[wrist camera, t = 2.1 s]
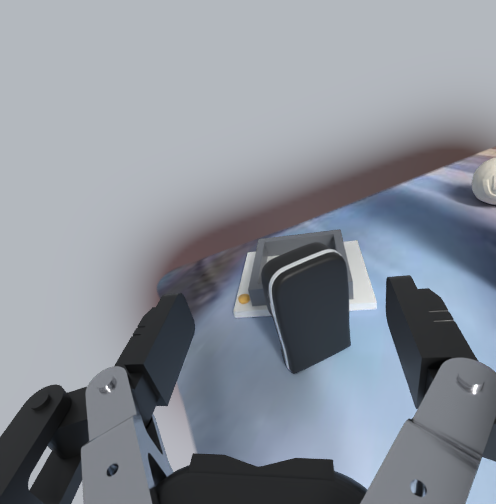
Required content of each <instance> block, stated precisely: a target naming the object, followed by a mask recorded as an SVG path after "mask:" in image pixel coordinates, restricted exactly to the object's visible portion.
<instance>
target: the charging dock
mask: <svg viewBox="0 0 496 504" xmlns="http://www.w3.org/2000/svg"><path fill="white" fill-rule="evenodd" d="M313 242H320V243H322V244H324V245H326V246H328V247H329V248H331V249H333V250H336V251H337V252H338V253H340V254H341V255H342V257H343V259H344V260H345V262H346V266H347V273H348V285H349V311H357V310H373V309H377V302H376V298H375V295H374V292H373V289H372V286H371V282H370V279H369V276H368V273H367V270H366V267H365V263H364V260H363V257H362V254H361V251H360V247H359V244H358V241H357V240H356V241H347V242H343V238H342V234H341V230H332V231H323V232H315V233H307V234H298V235H290V236H282V237H273V238H265V239H258V244H257V249H256V252H248V254H247V258H246V262H245V266H244V270H243V274H242V278H241V282H240V286H239V290H238V294H237V298H236V302H235V306H234V310H233V313H234V316H235V318H245V317H261V316H271V314H270V313H269V311H268V309H267V305H266V301H265V296H264V292H263V287H262V280H261V273H262V268H263V267H264V265H265V264H266V263H267V262H268V261H269V260H271V259H273V258H275V257H277V256H280V255H282V254H284V253H286V252H289V251H291V250H294V249H296V248H299V247H301V246H304V245H307V244H310V243H313Z"/></svg>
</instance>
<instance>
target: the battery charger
mask: <svg viewBox="0 0 496 504" xmlns="http://www.w3.org/2000/svg"><path fill="white" fill-rule="evenodd" d="M261 280H262V287H263V292H264V296H265V301H266V305H267V309H268V311H269V313H270V314H271V316H272V317H273V320H274V323H275V326H276V330H277V333H278V336H279V339H280V343H281V351H282V355H283V358H284V361H285V363H286V366H287V368H288V369H289V370H290V371H291V372H292V373H293V374H295V373H298V372H300V371H302V370H304V369H306V368H308V367H310V366H312V365H314V364H316V363H318V362H321V361H323V360H324V359H326V358H328V357H330V356H332V355H334V354H336V353H338V352H340V351H342V350H344V349H345V348H347V347H349V346H350V345H351V341H350V329H349V285H348V273H347V266H346V262H345V260H344V259H343V257H342V255H341V254H340V253H338V252H337V251H336V250H333V249H331V248H329V247H328V246H326V245H324V244H322V243H320V242H313V243H310V244H307V245H304V246H301V247H299V248H296V249H294V250H291V251H289V252H286V253H284V254H282V255H280V256H277V257H275V258H273V259H271V260H269V261H268V262H267V263H266V264H265V265H264V267H263V268H262V273H261Z"/></svg>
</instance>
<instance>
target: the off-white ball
mask: <svg viewBox="0 0 496 504" xmlns="http://www.w3.org/2000/svg"><path fill="white" fill-rule="evenodd" d="M472 190H473V192H474V194H475V196H476V197H477V198H478V199H479V200H481V201H483V202H485V203H489V204H495V205H496V158H493V159H490V160H488V161H486V162H484V163H483V164H482V165H480V166H479V167H478V168H477V169H476V171H475V173H474V175H473V178H472Z"/></svg>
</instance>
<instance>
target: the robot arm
mask: <svg viewBox="0 0 496 504" xmlns="http://www.w3.org/2000/svg"><path fill="white" fill-rule="evenodd" d="M386 317H387V322H388V326H389V329H390V332H391V335H392V338H393V341H394V344H395V347H396V350H397V353H398V356H399V359H400V362H401V365H402V368H403V371H404V374H405V377H406V380H407V383H408V386H409V389H410V392H411V395H412V398H413V401H414V404H415V407H416V409H418V410H417V412H416V414H415V415H414V417H413V418H412V419H408V420H407V421H406V422H405V423H404V425H403V427H402V428H401V430H400V432H399V434H398V436H397V437H396V439H395V441H394V443H393V445H392V447H391V448H390V450H389V452H388V454H387V456H386V458H385V459H384V461H383V463H382V465H381V467H380V468H379V470H378V472H377V474H376V476H375V478H374V479H373V481H372V483H371V485H370V487H369V489H368V490H367V489H366V488H365V487H363V486H362V485H361V484H359V483H358V482H356V481H355V480H353V479H351V478H349V477H347V476H345V475H343V474H341V473H338V472H335V471H334V465H333V460H330V459H307V458H294V459H290V460H286V461H281V462H277V463H273V464H269V465H265V466H261V467H257V466H253V465H251V464H248V463H245V462H243V461H240V460H237V459H234V458H232V457H229V456H226V455H215V454H193V455H192V459H191V463H190V465H189V466H186V467H184V468H181V469H179V470H177V471H175V472H173V470H172V468H171V466H170V464H169V461H168V459H167V455H166V452H165V449H164V446H163V442H162V439H161V436H160V432H159V429H158V426H157V422H156V419H155V417H154V415H153V412H154V409H155V407H156V406H168V403H169V400H170V398H171V395H172V392H173V390H174V387H175V384H176V381H177V379H178V376H179V373H180V371H181V368H182V365H183V362H184V360H185V357H186V354H187V352H188V349H189V346H190V344H191V341H192V338H193V335H194V331H195V323H194V319H193V317H192V314H191V312H190V309H189V307H188V304H187V302H186V299H185V297H184V295H183V294H182V293H178V294H166V295H163V296H162V297H161V299H160V301H159V303H158V305H157V306H156V307H154V308H152V309H151V310H150V311H149V312H148V313H147V314H145V315H144V317H143V318H142V320H141V321H140V323H139V325H138V328H137V329H136V330H135V332H134V333H133V337H131V338H130V340H129V342H128V344H127V345H126V347H125V349H124V350H123V352H122V354H121V355H120V357H119V359H118V361H117V363H116V364H115V366H114V367H110V368H107V369H105V370H103V371H102V372H100V373H99V374H97V375H96V376H95V377H94V378H93V379H92V380H91V382H90V383H89V385H88V387H84V388H81V389H78V390H75V391H72V392H69V393H66V392H65V391H64V389H63V388H62V387H61V386H60V385H50V386H47V387H45V388H43V389H41V390H39V391H38V392H36V393H35V394H34V395H33V396H31V397H30V398H29V399H28V400H27V401H26V403H25V404H24V405H23V407H22V408H21V410H20V411H19V412H18V413H17V415H16V416H15V418H14V419H13V420H12V422H11V423H10V425H9V426H8V427H7V429H6V430H5V431H4V433H3V434H2V435H1V437H0V504H71V503H72V500H73V499H74V496H75V494H76V492H77V490H78V488H79V485H80V483H81V481H83V499H84V504H466V501H467V498H468V495H469V493H470V490H471V487H472V484H473V481H474V478H475V475H476V473H477V470H478V467H479V464H480V461H481V458H482V457H484V458H487V459H490V460H493V461H496V372H495V371H493V370H492V369H491V368H490V367H488V366H486V365H485V364H483V363H481V362H479V361H478V360H477V358H476V357H475V355H474V353H473V352H472V350H471V348H470V347H469V345H468V343H467V341H466V340H465V338H464V336H463V335H462V333H461V331H460V329H459V328H458V326H457V324H456V323H455V322H454V320H453V317H452V316H451V314H450V312H448V309H447V307H446V305H445V304H444V302H443V300H442V299H441V297H439V296H438V295H437V294H435V293H434V292H433V291H431V290H430V289H429V288H428V289H417V287H416V285H415V283H414V281H413V279H412V277H411V276H410V275H408V276H395V277H387V281H386ZM47 446H48V447H49V448H50V449H51V450H52V452H51V454H50V455H49V457H48V459H47V461H46V463H45V464H44V466H43V468H42V470H41V471H40V473H39V475H38V476H37V478H36V480H35V482H34V484H33V485H32V487H31V489H30V491H29V489H28V481H29V477H30V474H31V473H32V471H33V469H34V468H35V466H36V464H37V462H38V461H39V459H40V457H41V456H42V454H43V452H44V450H45V449H46V447H47Z"/></svg>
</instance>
